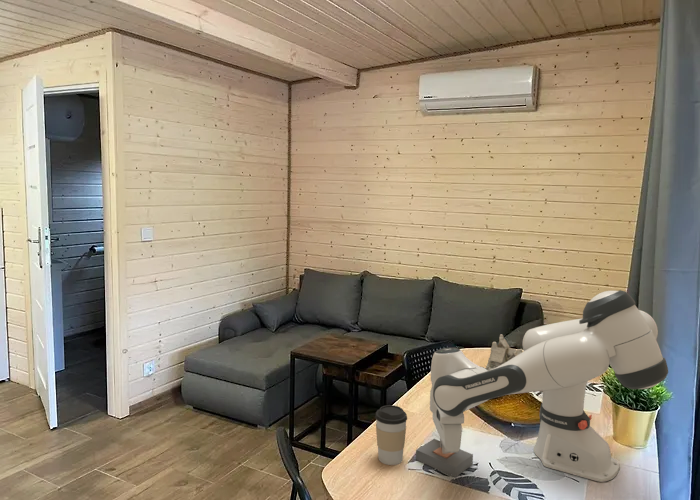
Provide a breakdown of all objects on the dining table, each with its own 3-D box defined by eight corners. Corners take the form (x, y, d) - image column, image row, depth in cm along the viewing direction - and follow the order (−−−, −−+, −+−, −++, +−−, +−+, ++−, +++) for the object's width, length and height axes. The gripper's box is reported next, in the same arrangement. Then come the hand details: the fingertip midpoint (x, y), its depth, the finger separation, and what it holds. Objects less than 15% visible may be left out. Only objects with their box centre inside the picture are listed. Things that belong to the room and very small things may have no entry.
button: (454, 461, 146) (455, 451, 145) (446, 467, 142) (446, 456, 142) (441, 456, 149) (442, 445, 148) (433, 461, 145) (433, 451, 145)
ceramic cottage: (479, 370, 218) (483, 336, 215) (500, 363, 229) (504, 330, 227) (513, 383, 206) (517, 347, 204) (532, 374, 218) (537, 340, 216)
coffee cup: (386, 447, 154) (387, 399, 152) (412, 457, 148) (413, 407, 146) (368, 459, 147) (368, 409, 145) (394, 470, 141) (395, 418, 139)
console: (472, 464, 144) (473, 454, 144) (455, 477, 138) (455, 467, 138) (433, 448, 153) (434, 438, 153) (415, 459, 147) (416, 449, 146)
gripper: (428, 389, 154) (426, 433, 155) (441, 420, 133) (440, 470, 135) (449, 389, 154) (447, 433, 155) (466, 420, 133) (464, 470, 135)
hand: (444, 451), depth 145 cm, fingers closed, pressing on button
